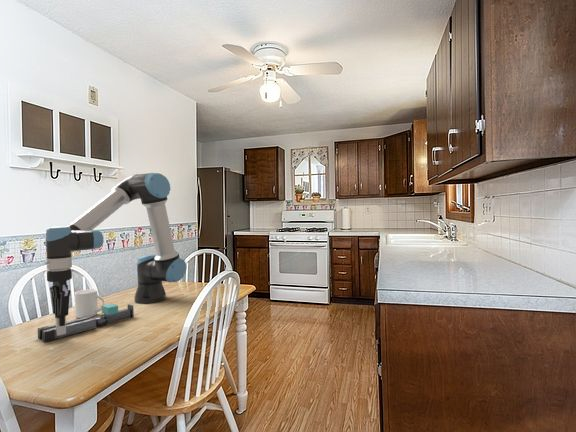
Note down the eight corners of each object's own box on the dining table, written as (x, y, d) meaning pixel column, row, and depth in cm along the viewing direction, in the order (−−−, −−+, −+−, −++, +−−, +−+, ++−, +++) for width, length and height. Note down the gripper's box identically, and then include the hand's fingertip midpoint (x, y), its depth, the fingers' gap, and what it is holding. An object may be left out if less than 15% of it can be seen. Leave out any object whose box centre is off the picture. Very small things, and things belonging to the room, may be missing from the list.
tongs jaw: (93, 326, 135) (93, 318, 135) (96, 328, 133) (96, 319, 133) (42, 340, 122) (42, 330, 122) (44, 341, 120) (44, 332, 120)
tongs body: (127, 315, 151) (127, 303, 150) (134, 317, 147) (134, 305, 147) (37, 337, 125) (37, 323, 125) (43, 341, 121) (43, 327, 121)
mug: (98, 318, 147) (98, 293, 147) (70, 318, 147) (70, 294, 146) (109, 312, 155) (108, 288, 155) (82, 312, 155) (82, 289, 155)
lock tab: (111, 310, 145) (111, 303, 144) (118, 312, 141) (118, 305, 141) (101, 312, 141) (101, 305, 141) (108, 315, 138) (108, 307, 138)
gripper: (41, 269, 124) (42, 333, 125) (53, 272, 116) (55, 341, 117) (64, 266, 130) (66, 327, 131) (78, 269, 122) (79, 335, 122)
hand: (61, 334), depth 124 cm, fingers closed
